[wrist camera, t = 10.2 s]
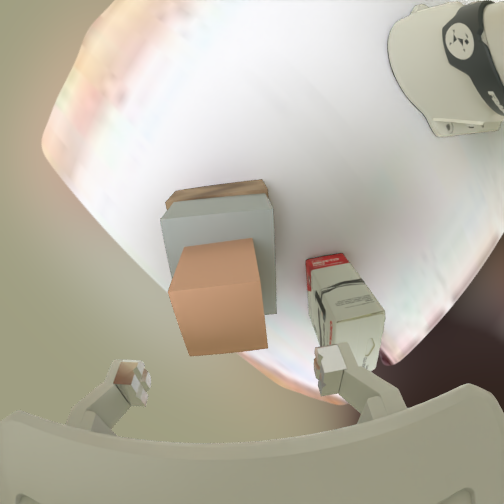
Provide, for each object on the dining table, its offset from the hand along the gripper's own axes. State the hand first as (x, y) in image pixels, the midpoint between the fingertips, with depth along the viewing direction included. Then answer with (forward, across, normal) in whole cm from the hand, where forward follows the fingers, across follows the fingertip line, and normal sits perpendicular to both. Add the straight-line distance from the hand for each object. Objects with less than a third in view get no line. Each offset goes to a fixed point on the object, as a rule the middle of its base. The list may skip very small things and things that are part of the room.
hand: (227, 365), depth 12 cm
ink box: (+20, -10, +10) cm, 24 cm away
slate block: (+15, +1, +1) cm, 15 cm away
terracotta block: (+10, +1, +1) cm, 10 cm away
